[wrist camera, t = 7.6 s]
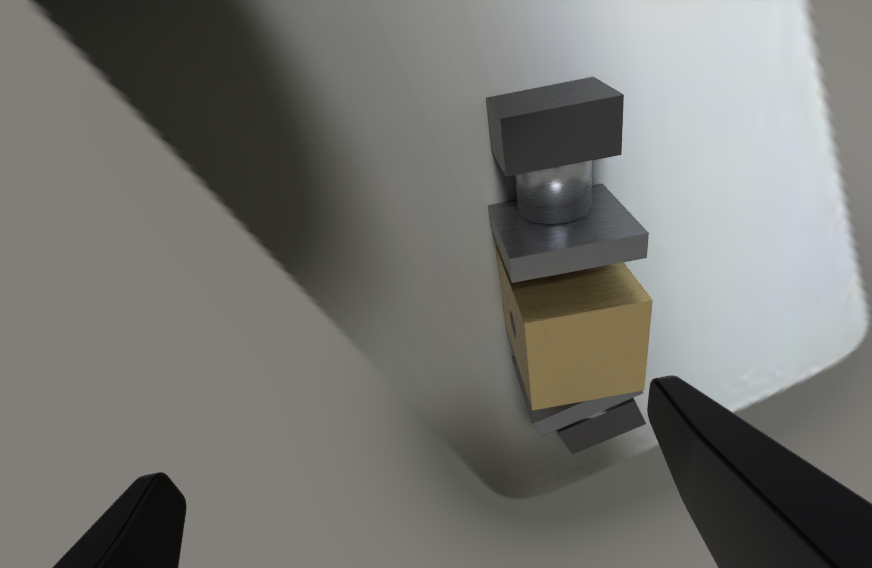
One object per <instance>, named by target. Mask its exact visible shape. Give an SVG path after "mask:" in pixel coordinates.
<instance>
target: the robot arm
mask: <svg viewBox="0 0 872 568" xmlns="http://www.w3.org/2000/svg"><path fill="white" fill-rule="evenodd" d="M647 411H648V417H649V421H650V423H651V426H652V428H653V431H654V433H655V435H656V438H657V440H658V443H659V445H660V448H661V450H662V452H663V455H664V457H665V460H666V462H667V465H668V467H669V469H670V472H671V474H672V476H673V479H674V481H675V484H676V486H677V489H678V491H679V493H680V496H681V498H682V500H683V502H684V504H685V506H686V508H687V510H688V512H689V514H690V516H691V518H692V520H693V521H694V523H695V525H696V527H697V529H698V531H699V533H700V534H701V536H702V538H703V540H704V542H705V544H706V546H707V547H708V549H709V551H710V553H711V555H712V556H713V558H714V560H715V562H716V564H717V566H718V568H872V503H870V502H868V501H867V500H865V499H864V498H862V497H861V496H859V495H858V494H856V493H855V492H853V491H852V490H850V489H849V488H847V487H845V486H844V485H842V484H841V483H839V482H838V481H836V480H835V479H833V478H832V477H830V476H829V475H827V474H825V473H824V472H823V471H821V470H820V469H818V468H817V467H815V466H813V465H812V464H810V463H809V462H807V461H806V460H804V459H803V458H801V457H800V456H798V455H797V454H795V453H793V452H792V451H790V450H789V449H787V448H786V447H784V446H783V445H781V444H780V443H778V442H777V441H775V440H774V439H772V438H771V437H769V436H768V435H766V434H765V433H763V432H761V431H760V430H758V429H757V428H755V427H754V426H752V425H751V424H749V423H748V422H746V421H745V420H743V419H742V418H740V417H739V416H737V415H735V414H734V413H732V412H731V411H729V410H728V409H726V408H725V407H723V406H722V405H720V404H719V403H717V402H716V401H714V400H713V399H711V398H710V397H708V396H706V395H705V394H703V393H702V392H700V391H699V390H697V389H696V388H694V387H693V386H691V385H690V384H688V383H687V382H685V381H684V380H682V379H680V378H679V377H677V376H673V375H672V376H665V377H660V378H655V379H653V380H652V381H651V383H650V388H649V398H648V408H647ZM185 515H186V500H185V498H184V496H183V494H182V493H181V492H180V490H179V489H178V488H177V487H176V486H175V484H174V483H173V482H172V481H171V479H170V478H169V477H168V476H167V475H166V474H165V473H162V472H160V473H154V474H149V475H144V476H141V477H139V478H138V479H136V480H135V481H134V482H133V483H132V484H131V485H130V487H128V489H127V490H126V491H125V492H124V493H123V494H122V495H121V496H120V497H119V498H118V499H117V500H116V501H115V502H114V503H113V505H111V506H110V508H109V509H108V510H107V511H106V512H105V513H104V514H103V515H102V516H101V517H100V518H99V519H98V520H97V521H96V522H95V523H94V524H93V525H92V526H91V528H90V529H89V530H88V531H87V532H86V533H85V534H84V535H83V536H82V537H81V538H80V539H79V540H78V541H77V542H76V543H75V545H74V546H72V547H71V549H70V550H69V551H68V552H67V553H66V554H65V555H64V556H63V557H62V558H61V559H60V560H59V561H58V562H57V563H56V564H55V565H54V567H52V568H178V565H179V558H180V551H181V543H182V537H183V529H184V522H185Z"/></svg>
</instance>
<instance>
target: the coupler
mask: <svg viewBox="0 0 872 568" xmlns="http://www.w3.org/2000/svg"><path fill="white" fill-rule="evenodd" d="M496 252H497V260H498V269H499V277H500V286H501V294H502V303H503V311H504V320H505V327H506V330H507V333H508V336H509V339H510V342H511V346H512V349H513V352H514V355H515V358H516V361H517V364H518V367H519V371H520V374H521V377H522V380H523V383H524V386H525V389H526V393H527V396H528V399H529V402H530V405H531V408H532V410H538V409H543V408H549V407H554V406H560V405H566V404H571V403H577V402H582V401H588V400H593V399H599V398H604V397H610V396H615V395H621V394H626V393H632V392H637V391H643V390H644V386H645V375H646V365H647V354H648V343H649V332H650V321H651V310H652V299H651V297H650V296H649V295H648V294H647V292H646V291H645V290H644V288H643V287H642V286H641V284H640V283H639V282H638V281H637V279H636V278H635V277H634V275H633V274H632V273H631V271H630V270H629V269H628V268H627V266H626V265H625V264H624V262H622V263H616V264H611V265H605V266H600V267H595V268H589V269H584V270H579V271H573V272H568V273H563V274H557V275H552V276H546V277H541V278H536V279H530V280H525V281H520V282H514V283H512V282H511V279H510V277H509V274H508V271H507V269H506V266H505V263H504V261H503V258H502V255H501V253H500V250H499V248H498V247H496Z"/></svg>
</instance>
